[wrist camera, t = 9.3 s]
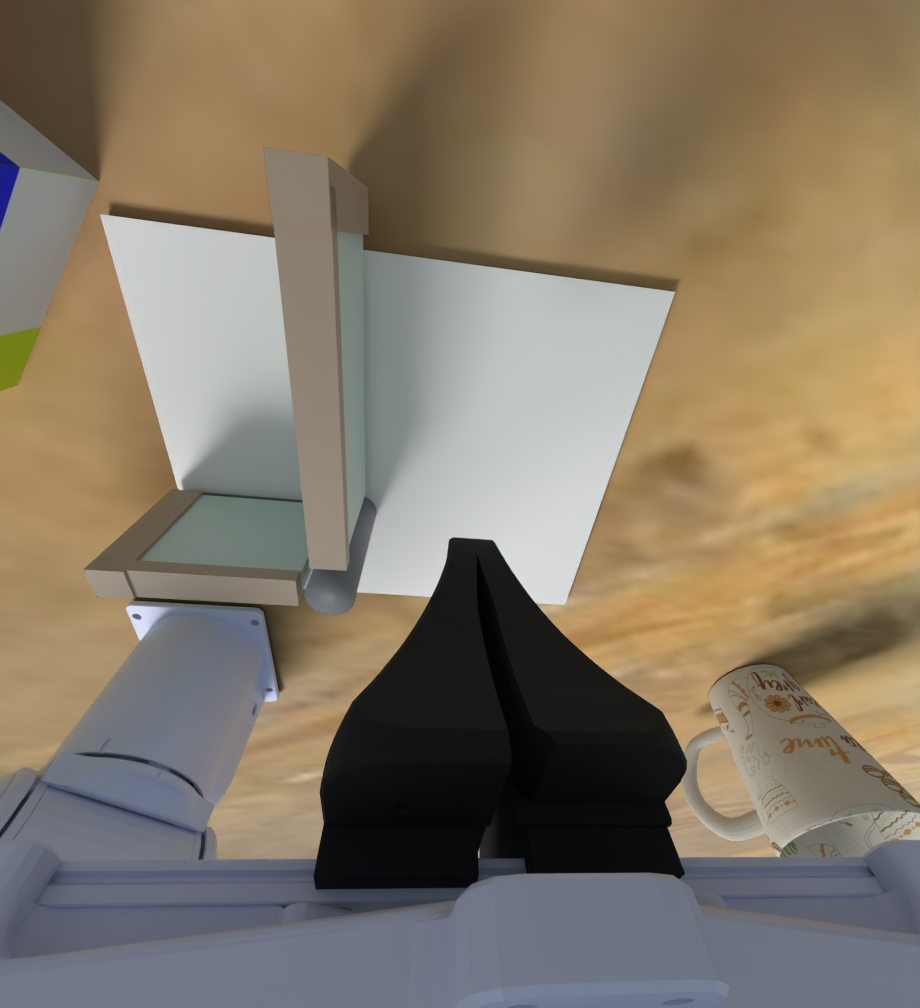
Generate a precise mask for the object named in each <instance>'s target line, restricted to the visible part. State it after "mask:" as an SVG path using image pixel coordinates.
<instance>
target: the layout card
mask: <svg viewBox="0 0 920 1008" xmlns="http://www.w3.org/2000/svg"><path fill="white" fill-rule="evenodd" d="M100 216H101V220H102V223H103V227H104V230H105V234H106V237H107V241H108V244H109V248H110V251H111V255H112V258H113V262H114V265H115V269H116V272H117V276H118V279H119V283H120V286H121V290H122V293H123V297H124V300H125V304H126V308H127V311H128V315H129V318H130V322H131V325H132V329H133V332H134V336H135V339H136V343H137V346H138V350H139V353H140V357H141V360H142V364H143V367H144V371H145V374H146V378H147V381H148V385H149V388H150V392H151V395H152V399H153V402H154V406H155V410H156V413H157V417H158V420H159V424H160V427H161V431H162V434H163V438H164V441H165V445H166V448H167V452H168V455H169V459H170V462H171V466H172V469H173V473H174V476H175V480H176V483H177V487H178V490H191V491H202V493H203V495H211V496H224V497H237V498H249V499H262V500H275V501H287V502H300V503H303V500H302V491H301V482H300V472H299V463H298V453H297V444H296V434H295V425H294V415H293V406H292V396H291V387H290V377H289V368H288V358H287V349H286V339H285V330H284V320H283V311H282V301H281V292H280V283H279V273H278V264H277V254H276V245H275V238H274V237H267V236H259V235H252V234H244V233H237V232H230V231H222V230H215V229H207V228H200V227H193V226H185V225H178V224H170V223H163V222H156V221H148V220H141V219H133V218H126V217H119V216H111V215H102V214H100ZM363 268H364V372H365V476H366V493H365V497H367V498H368V499H370V500H371V501H372V502H373V503H374V505H375V507H376V518H375V522H374V526H373V530H372V534H371V538H370V542H369V546H368V550H367V554H366V558H365V562H364V566H363V570H362V574H361V578H360V582H359V586H358V590H357V592H361V593H377V594H394V595H410V596H427V597H432V594H433V592H434V590H435V588H436V586H437V584H438V582H439V579H440V576H441V574H442V571H443V569H444V566H445V563H446V559H447V551H448V543H449V540H450V539H451V538H453V537H457V538H471V539H486V540H493V541H494V542H495V543H496V545H497V547H498V549H499V550H500V552H501V554H502V556H503V557H504V559H505V560H506V562H507V564H508V565H509V567H510V568H511V570H512V571H513V573H514V574H515V576H516V577H517V579H518V580H519V582H520V583H521V584H522V586H523V587H524V589H525V590H526V591H527V593H528V594H529V595H530V597H531V598H532V599H533V601H534V602H535V603H542V604H559V605H565V603H566V600H567V598H568V595H569V592H570V589H571V586H572V583H573V581H574V578H575V575H576V572H577V569H578V566H579V564H580V561H581V558H582V555H583V552H584V549H585V547H586V544H587V541H588V538H589V535H590V532H591V530H592V527H593V524H594V521H595V518H596V515H597V513H598V510H599V507H600V504H601V501H602V498H603V496H604V493H605V490H606V487H607V484H608V481H609V479H610V476H611V473H612V470H613V467H614V464H615V462H616V459H617V456H618V453H619V450H620V447H621V445H622V442H623V439H624V436H625V433H626V430H627V428H628V425H629V422H630V419H631V416H632V413H633V411H634V408H635V405H636V402H637V399H638V396H639V394H640V391H641V388H642V385H643V382H644V379H645V377H646V374H647V371H648V368H649V365H650V362H651V359H652V357H653V354H654V351H655V348H656V345H657V342H658V340H659V337H660V334H661V331H662V328H663V325H664V323H665V320H666V317H667V314H668V311H669V308H670V306H671V303H672V300H673V297H674V294H675V292H673V291H666V290H659V289H651V288H644V287H637V286H629V285H622V284H614V283H607V282H600V281H592V280H585V279H577V278H570V277H563V276H555V275H548V274H540V273H533V272H526V271H518V270H511V269H503V268H496V267H489V266H481V265H474V264H466V263H459V262H452V261H444V260H437V259H429V258H422V257H415V256H407V255H400V254H392V253H385V252H378V251H370V250H363ZM365 497H364V498H365ZM312 571H313V569H312V570H311V573H310V575H309V578H308V580H307V582H306V585H305V587H304V589H306V586H307V584H308V581H309V579H310V576H311V574H312Z"/></svg>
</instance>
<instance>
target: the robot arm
mask: <svg viewBox="0 0 920 1008" xmlns="http://www.w3.org/2000/svg"><path fill="white" fill-rule="evenodd" d="M126 610H127V613H128V615H129V617H130V619H131V622H132V624H133V626H134V628H135V631H136V633H137V635H138V638H139V640H140V642H139V643H138V645H137V646H136V647H135V649H134V650H133V651H132V653H131V654H130V655H129V657H128V658H127V659H126V660H125V662H124V663H123V664H122V666H121V667H120V668H119V670H118V671H117V672H116V674H115V675H114V676H113V677H112V679H111V680H110V681H109V683H108V684H107V685H106V687H105V688H104V689H103V691H102V692H101V693H100V694H99V696H98V697H97V698H96V700H95V701H94V702H93V704H92V705H91V706H90V708H89V709H88V710H87V711H86V713H85V714H84V715H83V717H82V718H81V719H80V721H79V722H78V723H77V725H76V726H75V727H74V728H73V730H72V731H71V732H70V734H69V735H68V736H67V738H66V739H65V740H64V742H63V743H62V744H61V745H60V747H59V748H58V749H57V751H56V752H55V753H54V755H53V756H52V757H51V759H50V760H49V761H48V762H47V764H46V765H45V766H43V767H42V768H41V769H40V770H39V771H37V770H33V769H30V768H21V769H19V770H18V771H16V772H15V773H12V774H9V775H6V776H3V777H1V778H0V1008H920V840H892V841H887V842H883V843H880V844H878V845H876V846H874V847H872V848H871V849H869V850H868V851H867V852H866V853H864V857H683V858H679V856H678V854H677V851H676V849H675V846H674V843H673V841H672V838H671V836H670V833H669V831H668V828H667V827H670V825H671V824H672V820H671V816H670V814H669V812H668V809H667V807H666V804H665V800H666V799H667V798H668V797H669V795H670V794H671V793H672V792H673V790H674V789H675V788H676V787H677V785H678V784H679V783H680V782H681V780H682V778H683V776H684V774H685V772H686V770H687V759H686V757H685V755H684V753H683V751H682V749H681V747H680V745H679V742H678V740H677V738H676V736H675V734H674V732H673V730H672V728H671V727H670V725H669V723H668V721H667V720H666V718H665V716H664V714H663V712H662V711H660V710H659V709H658V708H656V707H655V706H653V705H652V704H650V703H649V702H647V701H646V700H644V699H643V698H641V697H640V696H638V695H637V694H635V693H634V692H632V691H631V690H629V689H628V688H626V687H625V686H624V685H622V684H621V683H620V682H618V681H617V680H616V679H614V678H613V677H612V676H611V675H609V674H608V673H607V672H605V671H604V670H603V669H601V668H600V667H599V666H598V665H597V664H595V663H594V662H593V661H592V660H591V659H589V658H588V657H587V656H586V655H585V654H584V653H583V652H582V651H581V650H579V649H578V648H577V647H576V646H575V645H574V644H573V643H572V642H571V641H570V640H568V639H567V638H566V637H565V636H564V635H563V634H562V633H561V632H560V631H559V630H558V628H557V627H556V626H555V625H554V624H553V623H552V622H551V621H550V620H549V619H548V618H547V616H546V615H545V614H544V613H543V612H542V611H541V609H540V608H539V607H538V606H537V604H536V603H535V602H534V601H533V599H532V598H531V597H530V595H529V594H528V593H527V591H526V590H525V589H524V587H523V586H522V584H521V583H520V582H519V580H518V579H517V577H516V576H515V574H514V573H513V571H512V570H511V568H510V567H509V565H508V564H507V562H506V560H505V559H504V557H503V556H502V554H501V552H500V550H499V549H498V547H497V545H496V543H495V542H494V541H493V540H486V539H471V538H457V537H453V538H451V539H450V540H449V543H448V551H447V559H446V563H445V566H444V569H443V571H442V574H441V576H440V579H439V582H438V584H437V586H436V588H435V590H434V592H433V594H432V597H431V599H430V601H429V603H428V605H427V606H426V608H425V610H424V612H423V614H422V615H421V617H420V619H419V620H418V622H417V624H416V625H415V627H414V628H413V630H412V631H411V633H410V634H409V636H408V637H407V639H406V640H405V641H404V643H403V644H402V646H401V647H400V648H399V650H398V651H397V652H396V653H395V655H394V656H393V657H392V658H391V660H390V661H389V662H388V663H387V665H386V666H385V667H384V668H383V669H382V671H381V672H380V673H379V674H378V675H377V676H376V678H375V679H374V680H373V681H372V682H371V683H370V684H369V685H368V686H367V687H366V688H365V689H364V690H363V691H362V692H361V693H360V694H359V695H358V696H357V698H356V699H355V700H354V701H353V702H352V704H351V706H350V707H349V709H348V711H347V713H346V715H345V717H344V719H343V721H342V723H341V725H340V727H339V729H338V731H337V733H336V735H335V737H334V740H333V742H332V744H331V747H330V750H329V753H328V756H327V759H326V763H325V767H324V772H323V777H322V782H321V788H320V798H321V805H322V813H323V820H324V826H323V831H322V836H321V841H320V846H319V851H318V856H317V859H243V860H217V841H216V835H215V832H214V830H213V829H212V828H211V827H208V826H206V825H207V823H208V820H209V818H210V815H211V813H212V811H213V808H214V806H215V805H216V804H217V803H218V802H219V800H220V799H221V798H222V797H223V795H224V794H225V792H226V791H227V789H228V787H229V786H230V784H231V782H232V779H233V777H234V774H235V772H236V769H237V767H238V764H239V762H240V759H241V757H242V754H243V751H244V749H245V746H246V744H247V741H248V739H249V736H250V734H251V731H252V729H253V726H254V724H255V721H256V718H257V716H258V713H259V711H260V708H261V706H262V703H263V701H270V702H272V701H276V700H277V699H278V697H279V689H278V684H277V679H276V674H275V669H274V663H273V658H272V653H271V648H270V643H269V637H268V632H267V627H266V622H265V617H264V613H263V611H262V610H261V609H259V608H255V607H237V606H219V605H201V604H183V603H165V602H148V601H132V602H130V603H129V604H128V605H127V607H126ZM479 847H480V858H478V850H479Z"/></svg>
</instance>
